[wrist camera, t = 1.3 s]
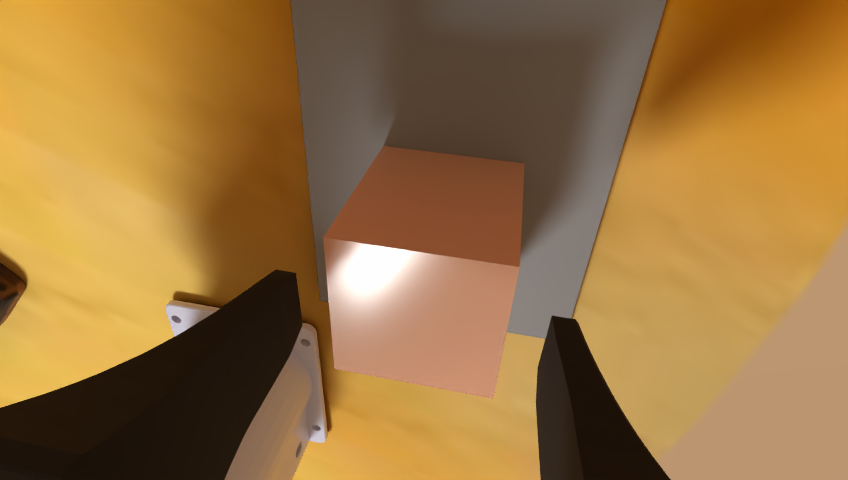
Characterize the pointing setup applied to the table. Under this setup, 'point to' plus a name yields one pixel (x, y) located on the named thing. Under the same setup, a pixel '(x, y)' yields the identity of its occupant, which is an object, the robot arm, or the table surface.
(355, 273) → the terracotta block
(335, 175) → the grey board
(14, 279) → the framed painting
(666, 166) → the table surface
